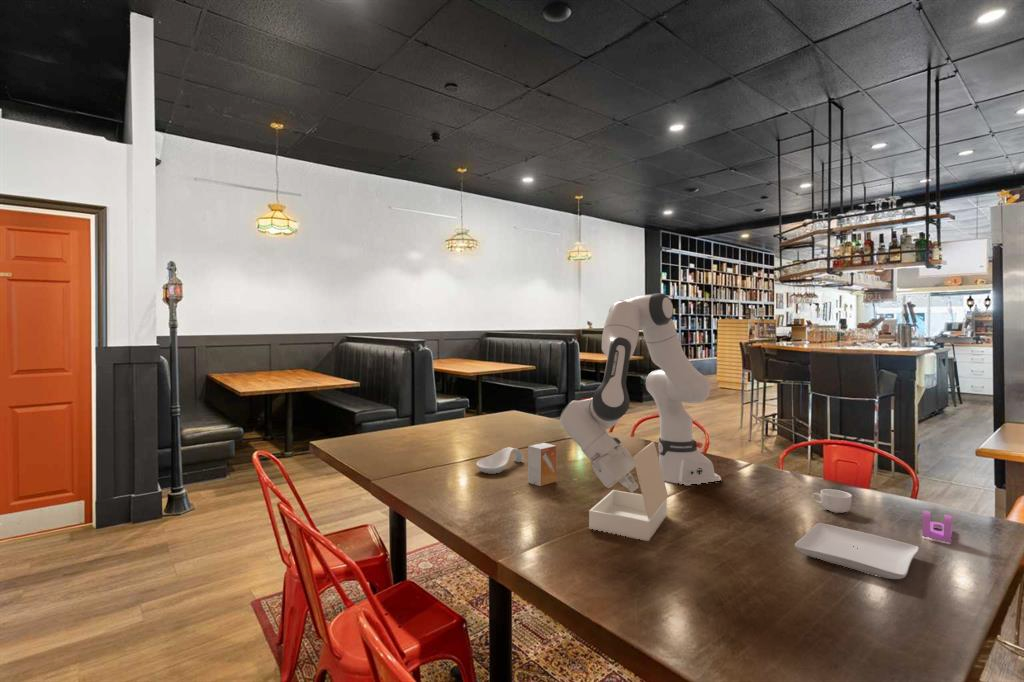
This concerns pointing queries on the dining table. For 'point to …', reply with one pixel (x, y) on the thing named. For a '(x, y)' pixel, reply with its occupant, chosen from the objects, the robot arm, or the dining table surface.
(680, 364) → the robot arm
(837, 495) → the teacup
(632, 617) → the dining table surface
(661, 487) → the mailer lid
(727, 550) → the dining table surface
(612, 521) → the tray
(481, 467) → the spoon rest
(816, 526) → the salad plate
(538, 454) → the small box
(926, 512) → the bracket
